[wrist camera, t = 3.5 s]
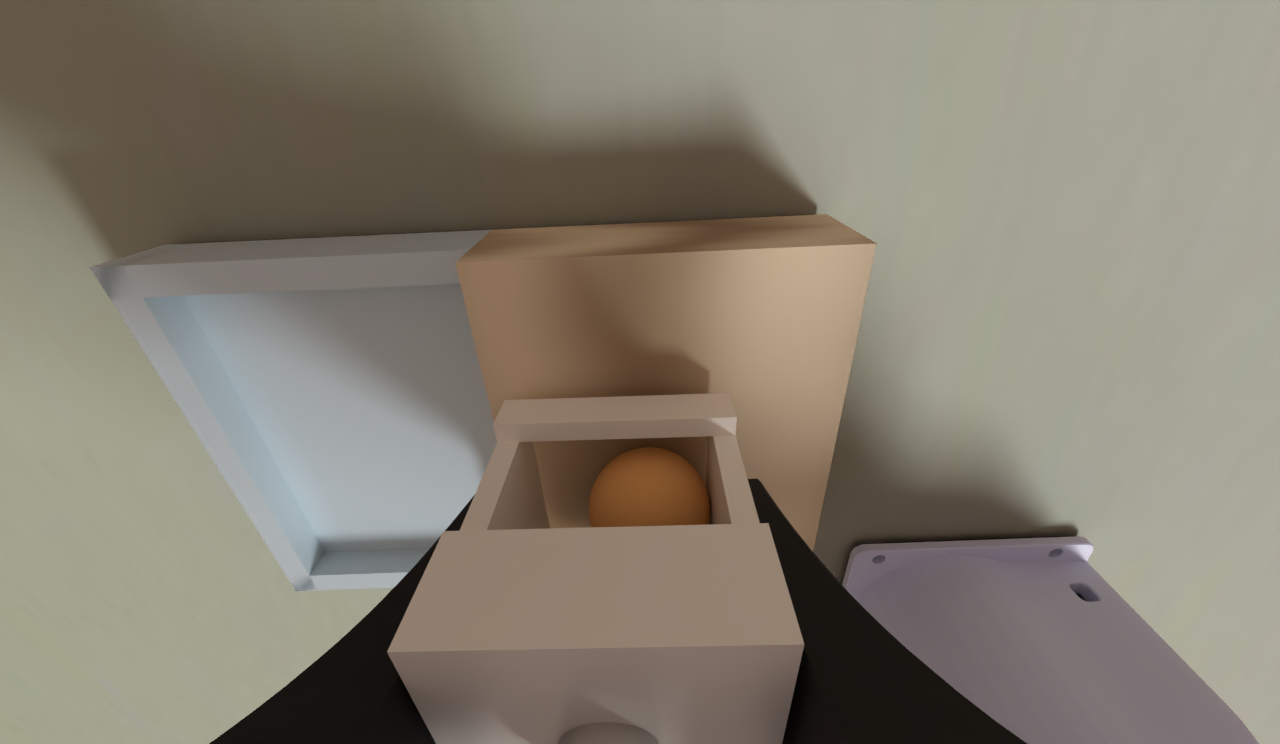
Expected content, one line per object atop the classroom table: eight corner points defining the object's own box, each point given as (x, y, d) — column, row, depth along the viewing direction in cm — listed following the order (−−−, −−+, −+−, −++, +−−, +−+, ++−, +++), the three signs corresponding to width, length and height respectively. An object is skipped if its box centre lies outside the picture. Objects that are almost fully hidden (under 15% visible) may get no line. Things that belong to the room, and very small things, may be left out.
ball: (736, 453, 11) (659, 528, 9) (729, 543, 13) (660, 626, 11) (640, 411, 13) (556, 467, 11) (642, 494, 14) (569, 558, 12)
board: (826, 214, 13) (876, 243, 10) (780, 529, 19) (803, 598, 16) (491, 229, 13) (455, 262, 10) (552, 537, 19) (538, 608, 16)
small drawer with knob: (729, 392, 11) (826, 715, 5) (720, 547, 14) (776, 877, 8) (504, 400, 11) (354, 721, 5) (537, 552, 14) (461, 879, 8)
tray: (491, 229, 13) (469, 249, 11) (552, 537, 19) (543, 582, 17) (163, 245, 13) (90, 267, 11) (327, 545, 19) (295, 591, 17)
